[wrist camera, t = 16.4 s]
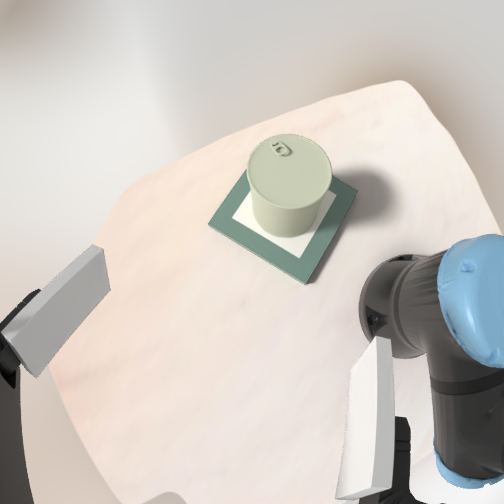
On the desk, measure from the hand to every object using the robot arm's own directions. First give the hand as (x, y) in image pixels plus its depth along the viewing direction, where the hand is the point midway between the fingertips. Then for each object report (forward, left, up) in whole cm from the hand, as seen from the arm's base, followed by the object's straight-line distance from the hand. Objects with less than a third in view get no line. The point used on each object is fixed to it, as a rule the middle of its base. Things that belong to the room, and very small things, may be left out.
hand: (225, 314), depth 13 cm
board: (+4, -15, -28) cm, 32 cm away
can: (+4, -15, -26) cm, 30 cm away
